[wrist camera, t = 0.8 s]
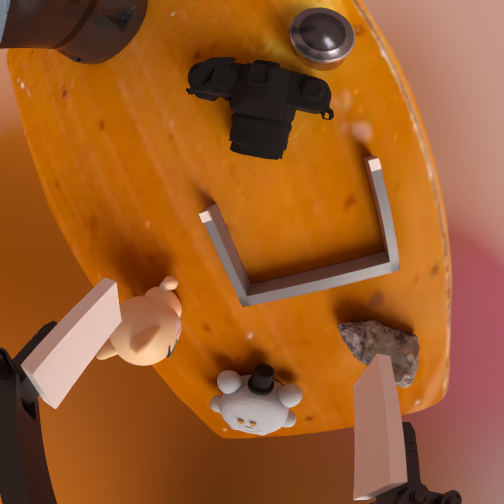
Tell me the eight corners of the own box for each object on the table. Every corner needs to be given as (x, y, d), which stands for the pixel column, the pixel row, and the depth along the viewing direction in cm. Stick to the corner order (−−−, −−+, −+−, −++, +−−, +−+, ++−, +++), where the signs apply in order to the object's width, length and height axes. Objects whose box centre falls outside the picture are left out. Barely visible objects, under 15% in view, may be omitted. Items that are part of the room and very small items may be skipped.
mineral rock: (332, 315, 39) (334, 366, 30) (399, 285, 35) (418, 332, 26) (362, 365, 43) (366, 412, 34) (418, 341, 38) (433, 387, 30)
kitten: (151, 329, 49) (112, 387, 36) (121, 286, 46) (70, 339, 32) (216, 313, 43) (180, 386, 30) (183, 261, 40) (129, 324, 27)
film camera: (196, 139, 32) (161, 145, 24) (210, 66, 28) (177, 50, 20) (318, 165, 31) (321, 179, 23) (336, 88, 26) (346, 74, 18)
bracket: (208, 205, 36) (198, 214, 33) (371, 154, 29) (378, 158, 26) (247, 294, 41) (242, 308, 38) (394, 259, 34) (401, 271, 31)
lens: (284, 33, 24) (278, 14, 19) (335, 20, 22) (339, -1, 17) (305, 78, 27) (304, 67, 21) (356, 65, 24) (367, 52, 19)
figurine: (289, 421, 54) (315, 361, 46) (285, 451, 46) (315, 396, 38) (214, 405, 56) (221, 341, 48) (203, 433, 48) (207, 372, 41)
